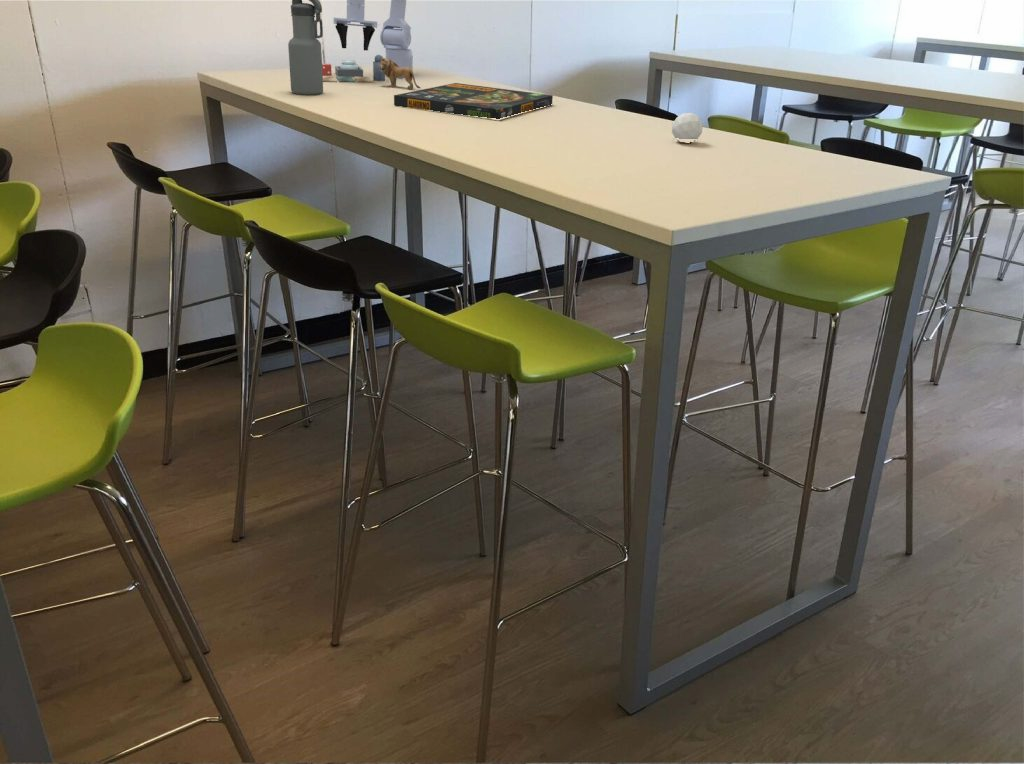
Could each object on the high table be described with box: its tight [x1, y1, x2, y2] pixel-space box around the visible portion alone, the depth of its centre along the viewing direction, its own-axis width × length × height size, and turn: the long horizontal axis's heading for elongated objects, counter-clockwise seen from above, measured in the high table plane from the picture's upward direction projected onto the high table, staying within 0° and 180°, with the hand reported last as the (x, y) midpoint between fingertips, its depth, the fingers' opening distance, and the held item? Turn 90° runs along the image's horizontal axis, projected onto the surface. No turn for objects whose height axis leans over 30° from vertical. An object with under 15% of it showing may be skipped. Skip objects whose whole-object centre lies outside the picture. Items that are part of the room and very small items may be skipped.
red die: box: [322, 63, 332, 76], centre depth 310 cm, size 4×4×4 cm
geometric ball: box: [671, 112, 703, 140], centre depth 229 cm, size 8×8×8 cm
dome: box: [339, 59, 359, 70], centre depth 311 cm, size 6×6×4 cm
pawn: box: [372, 54, 386, 82], centre depth 303 cm, size 4×4×8 cm
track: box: [323, 75, 374, 83], centre depth 302 cm, size 17×10×1 cm, turn 106°
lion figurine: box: [379, 57, 421, 91], centre depth 290 cm, size 15×5×9 cm, turn 70°
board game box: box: [393, 82, 554, 119], centre depth 267 cm, size 35×35×4 cm
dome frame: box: [334, 65, 364, 78], centre depth 312 cm, size 9×9×2 cm
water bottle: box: [287, 0, 324, 96], centre depth 268 cm, size 10×10×28 cm
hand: (354, 49), depth 294 cm, fingers open, 7 cm apart
